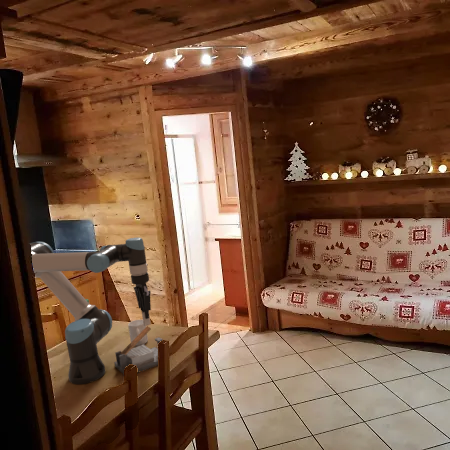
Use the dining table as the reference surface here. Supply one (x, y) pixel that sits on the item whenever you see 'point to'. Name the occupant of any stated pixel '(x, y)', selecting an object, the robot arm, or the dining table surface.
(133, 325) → the mug
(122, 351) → the brown wooden strip
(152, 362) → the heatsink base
